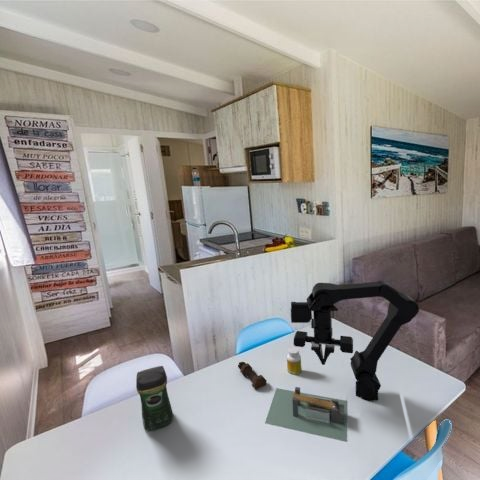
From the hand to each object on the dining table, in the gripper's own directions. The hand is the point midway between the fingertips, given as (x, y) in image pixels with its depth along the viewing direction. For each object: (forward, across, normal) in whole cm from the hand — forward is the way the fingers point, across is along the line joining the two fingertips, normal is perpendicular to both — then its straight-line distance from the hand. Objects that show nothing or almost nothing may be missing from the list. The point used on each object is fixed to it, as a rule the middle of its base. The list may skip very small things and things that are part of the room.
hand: (323, 364), depth 99 cm
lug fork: (+12, +8, +10) cm, 17 cm away
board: (+12, +4, +10) cm, 16 cm away
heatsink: (+12, +1, +10) cm, 15 cm away
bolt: (+13, +28, -2) cm, 31 cm away
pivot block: (+12, -4, +10) cm, 15 cm away
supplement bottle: (+13, +12, -10) cm, 20 cm away
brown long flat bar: (+8, +2, +10) cm, 12 cm away
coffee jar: (+13, +51, +25) cm, 58 cm away
